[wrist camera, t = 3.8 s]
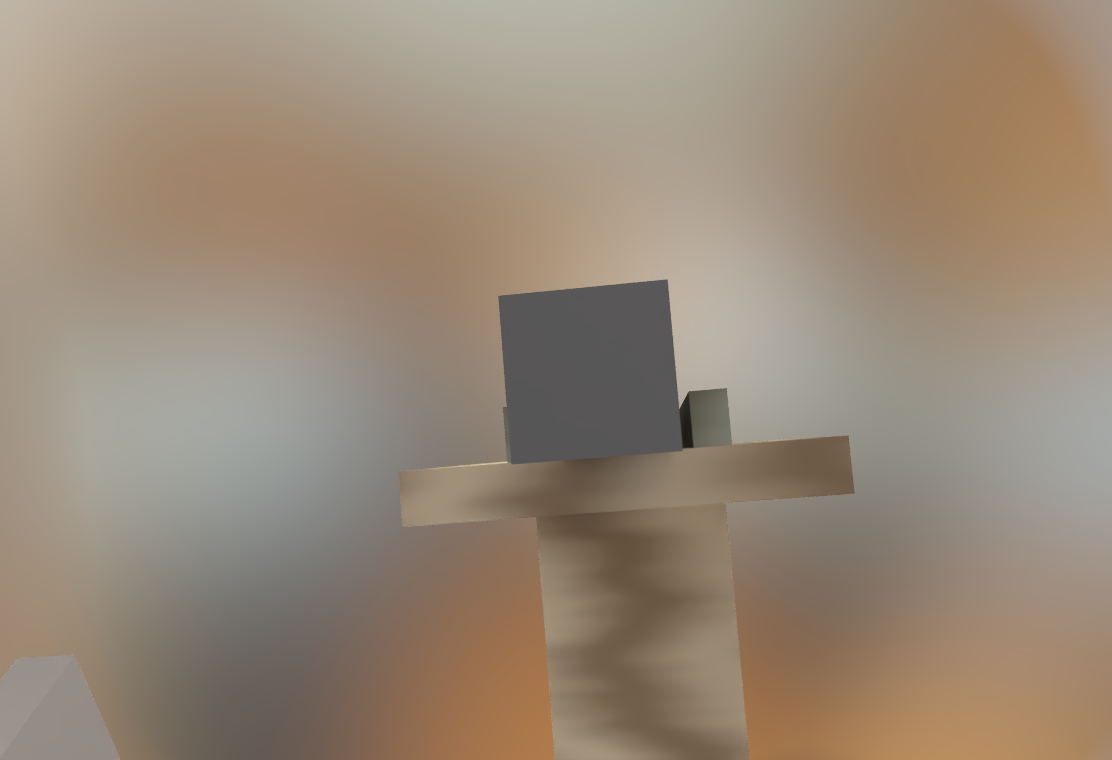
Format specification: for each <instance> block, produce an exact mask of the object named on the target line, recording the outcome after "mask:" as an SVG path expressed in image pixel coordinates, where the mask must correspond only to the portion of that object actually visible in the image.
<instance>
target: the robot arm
mask: <svg viewBox="0 0 1112 760" xmlns="http://www.w3.org/2000/svg"><path fill="white" fill-rule="evenodd" d="M0 760H120V758H119V755H118V753H117V751H116V748H115V746H114V744H113V742H112V739H111V737H110V735H109V733H108V730H107V728H106V726H105V724H104V721H103V719H102V717H101V714H100V712H99V710H98V707H97V705H96V703H95V701H94V699H93V696H92V694H91V691H90V690H89V687H88V685H87V682H86V680H85V678H84V675H83V673H82V671H81V669H80V666H79V664H78V662H77V660H76V657H75V655H64V656H47V657H32V658H31V657H30V658H17V659H16V661H15V662H14V663H13V664H12V666H11V667H10V668H9V669H8V671H7V672H6V673H5V674H4V676H3V677H2V678H1V680H0Z"/></svg>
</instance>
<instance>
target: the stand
mask: <svg viewBox="0 0 1112 760" xmlns="http://www.w3.org/2000/svg"><path fill="white" fill-rule="evenodd" d="M503 413H504V425H505V439H506V452H507V462H495V463H484V464H474V465H462V466H452V467H442V468H432V469H420V470H410V471H400V472H399V481H400V496H401V512H402V525H403V527H407V526H419V525H420V526H421V525H434V524H446V523H461V522H474V521H488V520H502V519H515V518H528V517H536V521H537V535H538V548H539V560H540V574H541V586H542V599H543V611H544V625H545V638H546V651H547V664H548V677H549V688H550V700H551V715H552V728H553V741H554V754H555V760H749V750H748V740H747V728H746V718H745V706H744V697H743V686H742V674H741V663H740V653H739V642H738V631H737V621H736V610H735V599H734V589H733V577H732V566H731V556H730V545H729V534H728V524H727V513H726V503H732V502H746V501H759V500H773V499H786V498H799V497H813V496H827V495H840V494H853V493H854V485H853V476H852V466H851V457H850V447H849V437H848V436H834V437H817V438H800V439H783V440H771V441H758V442H745V443H733V444H732V440H731V429H730V419H729V408H728V397H727V389H726V388H724V389H713V390H702V391H689V392H688V394H687V396H686V398H685V400H684V401H683V403H682V405H681V407H680V409H679V413H680V425H681V436H682V447H683V451H676V452H663V453H651V454H638V455H626V456H613V457H601V458H588V459H575V460H563V461H550V462H538V463H525V464H513V465H511V454H510V441H509V428H508V415H507V407H504V408H503Z"/></svg>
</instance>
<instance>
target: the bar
mask: <svg viewBox="0 0 1112 760" xmlns="http://www.w3.org/2000/svg"><path fill="white" fill-rule="evenodd" d="M499 309H500V323H501V336H502V347H503V348H502V349H503V362H504V375H505V388H506V401H507V415H508V428H509V441H510V454H511V465H513V464H525V463H538V462H550V461H563V460H575V459H588V458H601V457H613V456H626V455H638V454H651V453H663V452H676V451H683V447H682V436H681V425H680V413H679V402H678V392H677V381H676V370H675V358H674V347H673V336H672V325H671V313H670V302H669V291H668V280H658V281H647V282H638V283H626V284H616V285H606V286H597V287H586V288H576V289H566V290H555V291H545V292H535V293H524V294H514V295H503V296H499Z"/></svg>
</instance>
